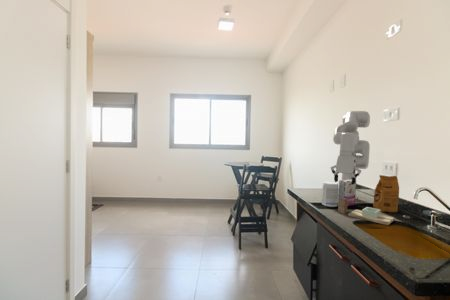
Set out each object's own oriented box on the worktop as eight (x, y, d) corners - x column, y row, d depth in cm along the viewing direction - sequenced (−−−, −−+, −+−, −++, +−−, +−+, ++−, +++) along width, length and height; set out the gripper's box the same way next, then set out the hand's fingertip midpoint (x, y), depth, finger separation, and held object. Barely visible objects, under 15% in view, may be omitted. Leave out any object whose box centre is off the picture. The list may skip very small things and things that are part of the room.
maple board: (356, 211, 167) (356, 209, 166) (394, 220, 153) (394, 217, 153) (348, 215, 157) (348, 213, 157) (388, 225, 143) (388, 222, 143)
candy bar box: (348, 203, 187) (350, 179, 185) (355, 205, 182) (357, 180, 181) (337, 204, 181) (338, 180, 180) (343, 206, 177) (345, 181, 176)
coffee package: (370, 207, 178) (373, 173, 176) (390, 208, 177) (393, 174, 176) (378, 212, 168) (381, 176, 166) (399, 213, 167) (402, 177, 166)
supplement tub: (340, 206, 178) (342, 183, 177) (331, 208, 173) (332, 184, 172) (327, 202, 186) (329, 181, 185) (318, 204, 181) (319, 182, 180)
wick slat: (340, 211, 167) (341, 197, 166) (346, 212, 164) (347, 198, 164) (337, 212, 163) (338, 198, 163) (343, 214, 161) (344, 200, 160)
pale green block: (366, 212, 160) (367, 206, 160) (380, 215, 156) (380, 209, 155) (361, 215, 154) (362, 209, 154) (375, 218, 149) (376, 212, 149)
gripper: (364, 155, 158) (362, 184, 159) (334, 152, 170) (332, 180, 171) (360, 155, 153) (357, 186, 154) (329, 152, 165) (327, 181, 166)
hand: (344, 182), depth 162 cm, fingers open, 9 cm apart
